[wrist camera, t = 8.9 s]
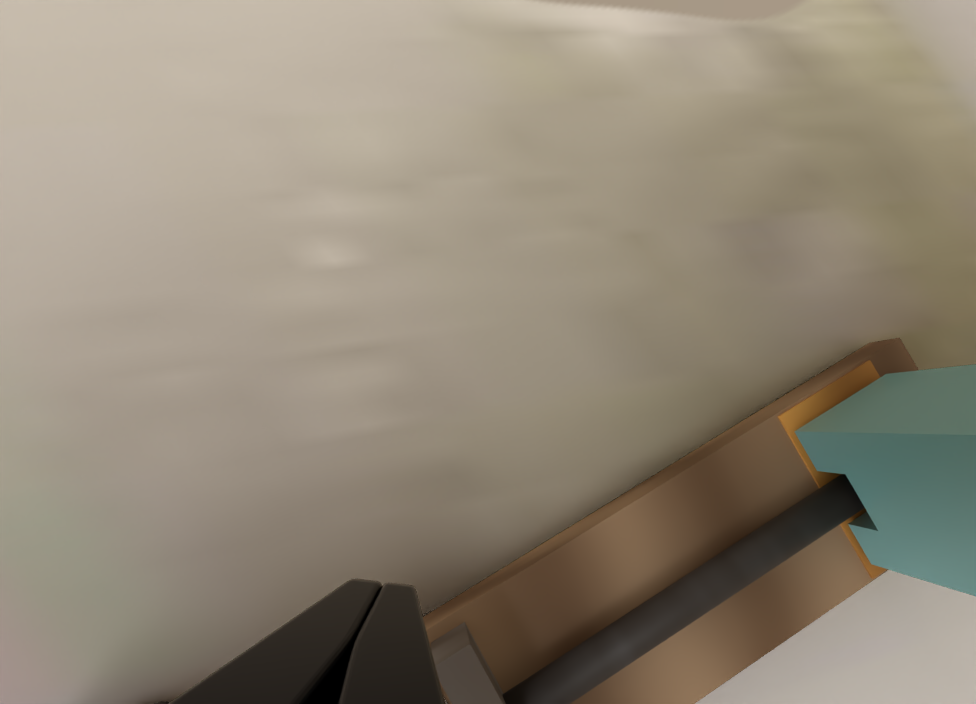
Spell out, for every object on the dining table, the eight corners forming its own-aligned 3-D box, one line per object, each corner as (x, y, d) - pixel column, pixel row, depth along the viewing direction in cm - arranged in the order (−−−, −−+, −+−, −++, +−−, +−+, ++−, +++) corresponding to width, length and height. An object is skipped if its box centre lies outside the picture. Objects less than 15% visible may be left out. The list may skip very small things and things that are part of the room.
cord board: (507, 798, 21) (530, 890, 17) (412, 623, 21) (412, 670, 17) (957, 492, 24) (1069, 506, 20) (869, 342, 24) (962, 326, 20)
